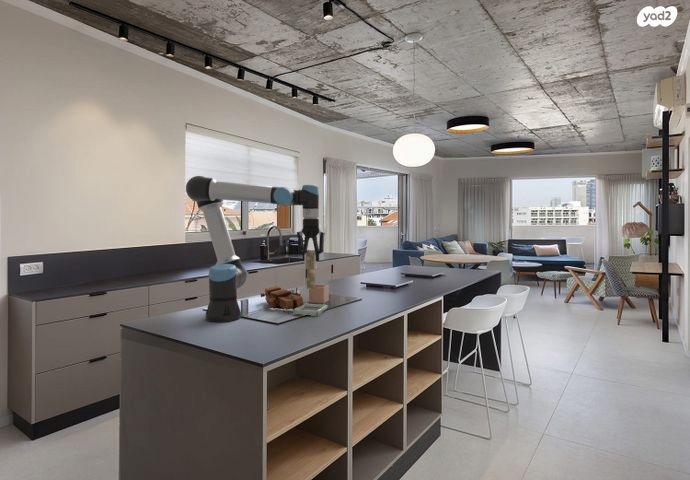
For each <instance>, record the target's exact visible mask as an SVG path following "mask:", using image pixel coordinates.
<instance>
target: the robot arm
mask: <svg viewBox="0 0 690 480" xmlns="http://www.w3.org/2000/svg"><path fill="white" fill-rule="evenodd" d="M185 192H186V194H187V196H188V197H189V199H191V200H192V201H194V202H196V204H197V208H198V210H200V211H201V212H202V213H203V216H204V219H205V223H206V227H207V229H208V233H209V237H210V240H211V243H212V246H213V249H214V253H215V256H216V259H217V261H216V263H215V264H214V265H212V266H211V267H210V268H209V269H208V293H209V297H208V298H209V301H208V305H207V308H206V312H205V320H206V321H207V322H212V323H214V322H215V323H223V322H227V323H228V322H232V321H237V320H239V319H241V318H242V312H241V308H240V306H239V303H238V298H237V297H238V296H237V295H238V291H237V290H238V289H239V288H241V287H242V286H243V285H244V284H245V283H246V281H247V278H248V272H247V268H246V267H245V266H244V265H243V264H242V260H241V258H240V257H239V256H237V255H236V253H235V248H234V245H233V241H232V239H231V235H230V232H229V228H228V225H227V222H226V218H225V215H224V212H223V208H222V206H223V205H224V200H225V201H226V200H227V201H238V202H247V203H248V202H249V203H258V204H259V203H261V204H271V205H278V206H283V207H285V206H286V207H287V206H302V229H301V230H300V231H297V232H296V235H297V241H298V242H297V243H298V245H297V246H298V253H300V254H302V262H304V269H307V250H308V247H309V241H310V239H312V243H313V248H314V249H313V250H315V255H314V269H315V270H316V269H318V262H319V261H320V255H321V254H323V253H324V239H325V235H326V232H325V231H322V230H321V229H320V219H319V217H320V214H319V213H320V208H319V207H320V206H319V205H320V202H319V199H320V195H319V186H318V185H317V184H303V185H302V187H301V188H299V189H295V188H294V189H292V188H288V187H287V186H272V185H271V186H270V185H262V184H261V185H259V184H249V183H239V182H238V183H237V182H227V181H218V180H216V179H215V178H212V177H208V176H207V177H205V176H203V175H196V176H193V177H190V178H189V179H188V181H187V182H186V185H185ZM303 235H304V241H303ZM318 236H319V243H318Z"/></svg>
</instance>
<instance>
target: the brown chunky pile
mask: <svg viewBox="0 0 690 480" xmlns="http://www.w3.org/2000/svg"><path fill="white" fill-rule="evenodd" d="M259 295H260V297H261V298H265V301H266V303H267V304H268V306H269V307H271V308H272V309H273V308H275V307H278V308H282V309H284V310H286V311H288V310H294V309H295V308H297V307H300V306H302V305H304V304H305V303H304V299H303V296H301V293H300V292H299V293H298V287H296V288H295V292H293V291H290V290H288V289H285V288H281V287H280V286H277V285H276V286H272V287H267V288H265V289H264V292H263V293H262V292H261V293H260V294H259Z"/></svg>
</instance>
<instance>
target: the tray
mask: <svg viewBox="0 0 690 480" xmlns="http://www.w3.org/2000/svg"><path fill="white" fill-rule="evenodd" d="M328 307H329V305H328V304H320V303H304V305H302V306H300V307H297V308H296V307H294V309H292V315H293V314H308V315H311V316H310V317H320V316H321V315H322V314H323V313H325V312H326V311H325V310H327V309H328ZM304 308H319V309H317V310H315V309H304Z"/></svg>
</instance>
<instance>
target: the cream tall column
mask: <svg viewBox="0 0 690 480" xmlns="http://www.w3.org/2000/svg"><path fill="white" fill-rule="evenodd" d="M314 255H315V249H307V268H306V289H308V290H309V289H315V285H316V269H314Z"/></svg>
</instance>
